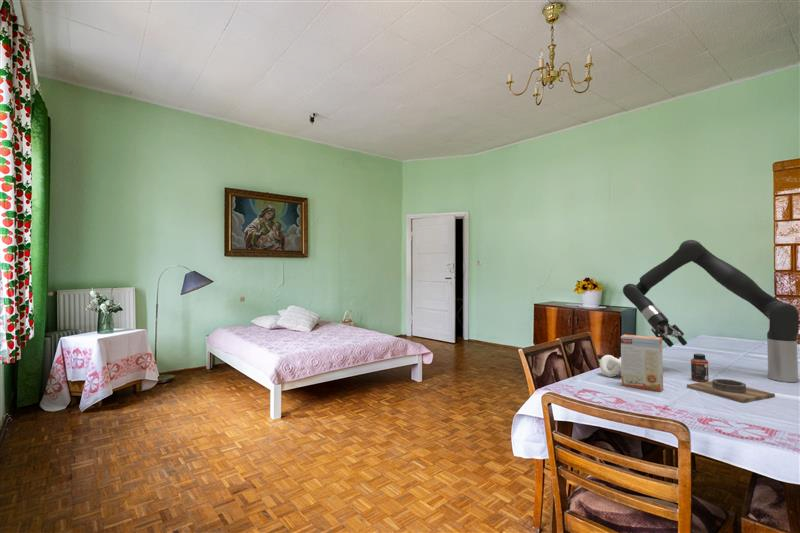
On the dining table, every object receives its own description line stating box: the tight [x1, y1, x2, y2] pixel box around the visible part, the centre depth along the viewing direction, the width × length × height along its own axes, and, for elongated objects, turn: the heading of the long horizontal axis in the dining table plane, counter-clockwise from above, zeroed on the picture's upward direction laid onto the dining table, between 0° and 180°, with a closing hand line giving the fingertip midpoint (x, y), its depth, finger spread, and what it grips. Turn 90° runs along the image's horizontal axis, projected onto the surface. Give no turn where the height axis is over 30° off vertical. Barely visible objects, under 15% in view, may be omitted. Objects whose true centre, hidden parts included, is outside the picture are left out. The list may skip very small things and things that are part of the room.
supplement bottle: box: [690, 353, 710, 383], centre depth 172 cm, size 6×6×11 cm
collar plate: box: [686, 378, 776, 404], centre depth 156 cm, size 18×20×4 cm
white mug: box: [599, 354, 622, 378], centre depth 180 cm, size 11×12×9 cm
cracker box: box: [620, 333, 664, 392], centre depth 164 cm, size 14×6×21 cm, turn 47°
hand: (678, 345), depth 180 cm, fingers open, 8 cm apart
